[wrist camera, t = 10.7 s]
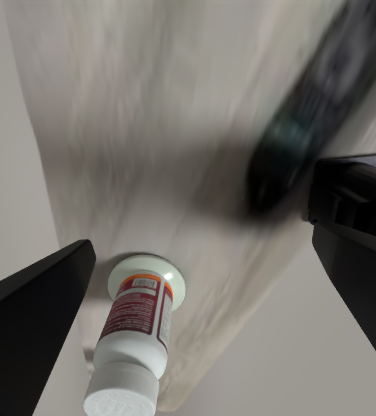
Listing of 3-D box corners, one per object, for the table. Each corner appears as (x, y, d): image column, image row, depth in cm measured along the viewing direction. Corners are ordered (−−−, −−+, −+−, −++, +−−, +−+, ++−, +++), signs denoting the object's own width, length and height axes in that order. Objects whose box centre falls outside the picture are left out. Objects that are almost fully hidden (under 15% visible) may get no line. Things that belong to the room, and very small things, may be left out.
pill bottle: (110, 288, 26) (56, 408, 16) (145, 259, 24) (110, 373, 14) (149, 316, 28) (124, 439, 18) (185, 290, 26) (180, 412, 16)
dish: (181, 249, 25) (180, 255, 24) (189, 308, 29) (189, 315, 28) (102, 255, 26) (98, 261, 25) (120, 311, 29) (117, 319, 28)
